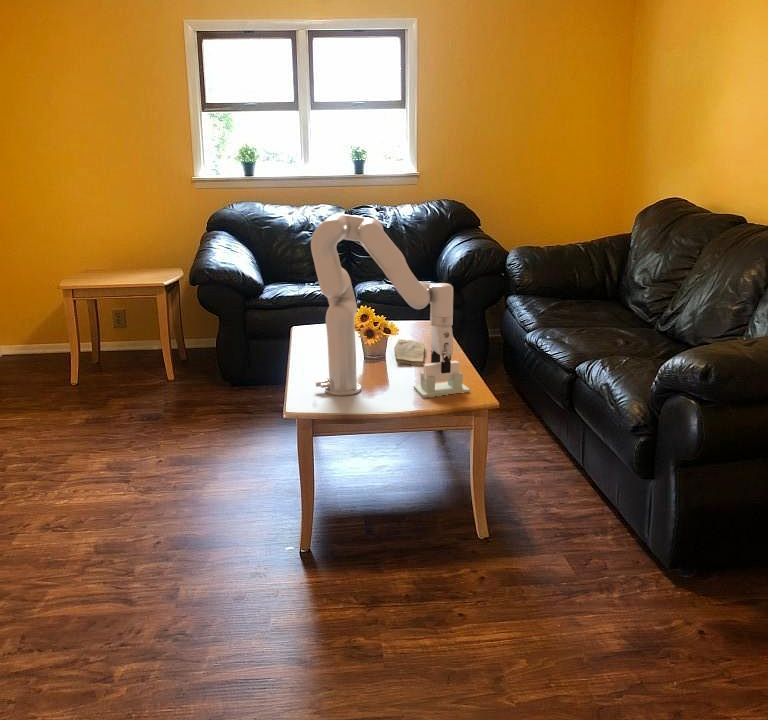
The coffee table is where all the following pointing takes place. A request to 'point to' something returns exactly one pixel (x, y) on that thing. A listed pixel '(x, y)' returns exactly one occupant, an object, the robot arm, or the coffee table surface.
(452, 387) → the grey mounting plate
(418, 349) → the stone slab
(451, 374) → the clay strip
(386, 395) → the coffee table surface
